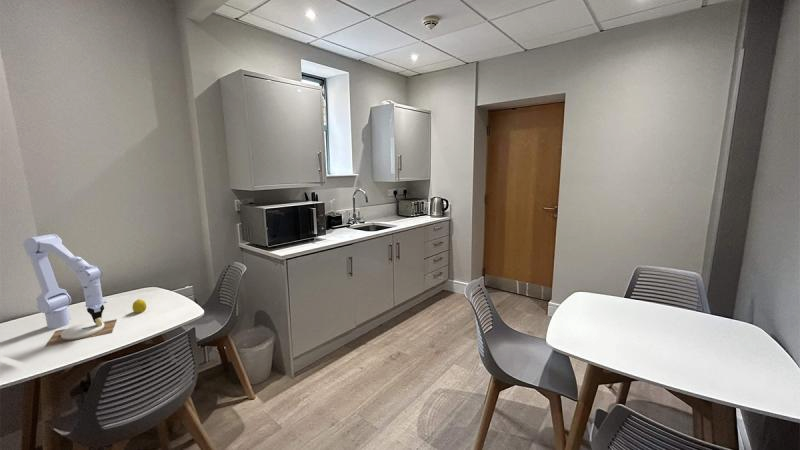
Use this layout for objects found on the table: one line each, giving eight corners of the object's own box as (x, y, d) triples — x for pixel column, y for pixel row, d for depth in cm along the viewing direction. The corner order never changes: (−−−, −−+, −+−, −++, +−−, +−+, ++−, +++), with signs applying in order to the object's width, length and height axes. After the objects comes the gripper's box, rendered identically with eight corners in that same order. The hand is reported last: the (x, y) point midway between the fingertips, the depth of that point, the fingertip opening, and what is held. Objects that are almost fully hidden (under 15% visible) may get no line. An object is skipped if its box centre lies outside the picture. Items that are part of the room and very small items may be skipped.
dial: (55, 342, 136) (53, 331, 135) (68, 328, 148) (66, 318, 147) (99, 335, 143) (97, 324, 142) (108, 321, 155) (107, 311, 154)
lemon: (139, 316, 164) (137, 301, 162) (130, 315, 165) (128, 300, 163) (150, 312, 169) (148, 297, 168) (141, 311, 170) (139, 296, 169)
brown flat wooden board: (56, 333, 146) (55, 330, 146) (117, 322, 158) (116, 318, 158) (44, 350, 133) (44, 346, 133) (112, 336, 145) (111, 332, 145)
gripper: (107, 295, 145) (111, 324, 147) (102, 287, 154) (106, 314, 157) (85, 300, 140) (90, 329, 142) (82, 291, 149) (86, 319, 152)
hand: (97, 322), depth 149 cm, fingers closed
